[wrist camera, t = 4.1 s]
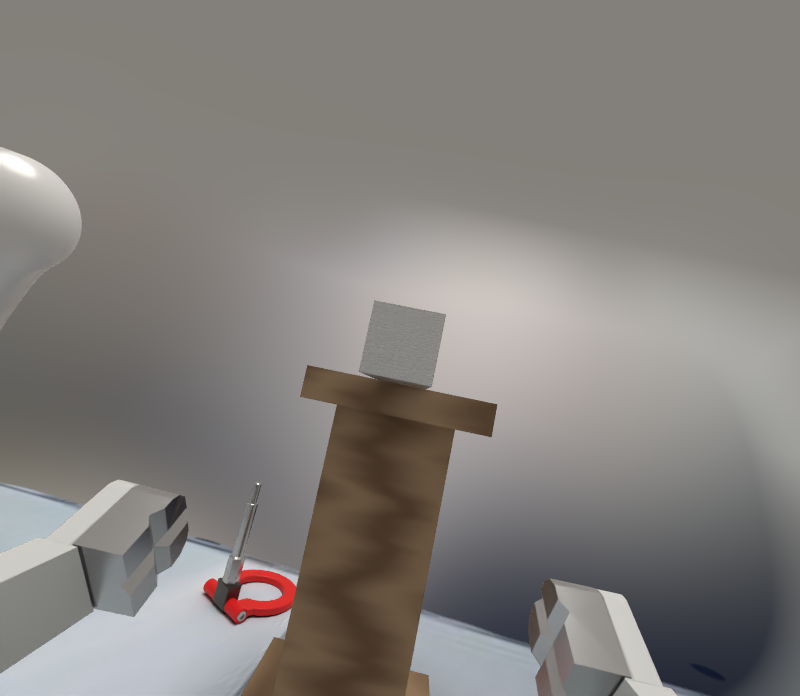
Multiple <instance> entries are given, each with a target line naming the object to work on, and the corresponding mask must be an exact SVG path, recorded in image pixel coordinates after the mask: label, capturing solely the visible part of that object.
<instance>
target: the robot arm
mask: <svg viewBox="0 0 800 696" xmlns="http://www.w3.org/2000/svg"><path fill="white" fill-rule="evenodd" d="M81 223H82V222H81V214H80V210H79V207H78V204H77V202H76V200H75V198H74V196H73V194H72V193H71V191H70V190H69V188H68V187H67V186H66V184H65V183H64V182H63V181H62V180H61V179H60V178H59V177H58V176H57V175H56V174H55V173H53V172H52V171H51V170H50V169H48V168H47V167H45V166H44V165H42V164H41V163H39V162H37V161H35V160H33V159H31V158H29V157H26V156H24V155H21V154H19V153H16V152H13V151H11V150H8V149H5V148H1V147H0V330H1V328H2V327H3V325H4V324H5V322H6V321H7V319H8V318H9V316H10V315H11V313H12V312H13V310H14V309H15V308H16V306H17V305H18V304H19V302H20V301H21V299H22V298H23V297H24V295H25V294H26V292H27V291H28V290H29V289H30V287H31V286H32V285H33V283H34V282H35V281H36V280H37V279H38V278H39V277H40V276H41V274H43V273H44V272H45V271H47V270H48V269H50V268H51V267H53V266H54V265H56V264H58V263H60V262H61V261H62V260H64V259H65V258H67V256H69V255H70V254H71V252H72V251H73V250H74V248H75V247H76V245H77V243H78V241H79V238H80V234H81V226H82V224H81ZM186 508H187V506H186V499H185V496H181V495H178V494H174V493H170V492H166V491H162V490H158V489H155V488H150V487H147V486H143V485H139V484H134V483H130V482H126V481H122V480H117V481H114V482H112V483H110V484H108V485H107V486H106V487H105V488H104V489H103V490H101V491H100V492H99V493H98V494H97V495H96V496H94V497H93V498H92V499H91V500H90V501H89V502H87V503H86V504H85V505H84V506H83V507H82V508H81V509H79V510H78V511H77V512H76V513H75V514H74V515H72V516H71V517H70V518H69V519H68V520H67V521H65V522H64V523H63V524H62V525H61V526H60V527H59V528H57V529H56V530H55V531H54V532H53V533H52V534H50V535H49V536H48V537H47V538H46V539H44V538H39V537H38V538H36V539H33V540H31V541H29V542H26V543H24V544H21V545H19V546H17V547H14V548H12V549H9V550H7V551H5V552H2V553H0V673H2V672H3V671H5V670H6V669H8V668H9V667H11V666H12V665H14V664H15V663H17V662H18V661H20V660H21V659H23V658H24V657H26V656H27V655H29V654H30V653H32V652H33V651H35V650H36V649H38V648H39V647H41V646H42V645H44V644H45V643H47V642H48V641H50V640H51V639H53V638H54V637H56V636H57V635H59V634H60V633H62V632H63V631H65V630H66V629H68V628H69V627H71V626H72V625H74V624H75V623H77V622H78V621H80V620H81V619H83V618H84V617H85V616H87V615H88V614H90V613H91V612H93V608H94V609H99V610H103V611H108V612H113V613H117V614H122V615H127V616H132V617H134V616H135V615H136V614H137V612H138V611H139V610H140V608H141V607H142V606H143V604H144V603H145V601H146V600H147V599H148V597H149V596H150V595H151V593H152V592H153V591H154V589H155V588H156V587H157V574H159V573H161V572H163V571H164V570H166V569H168V568H170V567H171V566H172V565H173V564H174V562H175V561H176V559H177V558H178V557H179V555H180V553H181V551H182V549H183V547H184V545H185V542H186V540H187V535H188V522H187V520H186V519H185V518H184V516H183V515H182V513H183V512H184V510H185V509H186ZM541 591H542V596H543V599H541V600H539V601H537V602H535V603H534V606H533V608H532V611H531V613H530V621H529V640H530V647H531V653H532V654H533V656H534V657H535V659H536V660H537V661H538V663H539V664H540V666H541V667H540V669H539V671H538V673H537V675H536V677H535V678H536V684H537V690H538V695H539V696H677V695H676V694H675V692H674V691H673V690H672V689H670V688H667V687H663V685H662V683H661V681H660V678H659V676H658V674H657V671H656V669H655V667H654V664H653V662H652V659H651V657H650V655H649V652H648V650H647V647H646V645H645V643H644V640H643V638H642V636H641V633H640V631H639V629H638V626H637V624H636V621H635V619H634V617H633V614H632V612H631V610H630V607H629V605H628V603H627V601H626V599H625V598H624V597H623V596H622V595H619V594H616V593H611V592H606V591H603V590H598V589H594V588H592V587H587V586H582V585H577V584H572V583H568V582H563V581H559V580H554V579H548V580H546V581H545V582H544V584H543V586H542V588H541Z"/></svg>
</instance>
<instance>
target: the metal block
mask: <svg viewBox="0 0 800 696" xmlns="http://www.w3.org/2000/svg"><path fill="white" fill-rule="evenodd" d="M445 317H446V315H445V314H441V313H435V312H430V311H426V310H420V309H415V308H410V307H405V306H400V305H395V304H390V303H385V302H379V301H374V305H373V309H372V314H371V318H370V323H369V328H368V332H367V337H366V342H365V346H364V350H363V355H362V360H361V364H360V369H359V372H361V373H363V374H365V375H368V376H370V377H372V378H375V379H377V380H381V381H386V382H391V383H396V384H401V385H405V386H410V387H415V388H420V389H427V388H429V387H432V382H433V377H434V373H435V368H436V363H437V357H438V352H439V347H440V342H441V336H442V332H443V326H444V322H445Z"/></svg>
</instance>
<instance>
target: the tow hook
mask: <svg viewBox="0 0 800 696" xmlns="http://www.w3.org/2000/svg"><path fill="white" fill-rule="evenodd" d="M261 485H262V484H261V483H259V482H255V484H254V487H253V491H252V494H251V498H250V501H248V502H247V505H246V508H245V512H244V515H243V519H242V522H241V525H240V529H239V532H238V536H237V540H236V543H235V547H234V550H233V553H232V554H231V555H230V556H229V559H228V562H227V566H226V569H225V573H224V576H223V578H219V579H218V581H216V580H215V579H210V580H208V581H207V582H206V583H205V585H204V591H205V592H206V593H207V594H208V595H209V596H210V597H211V598H212V599H213V602H214V603H215V604H216V605H217V606H218V607H219V608H220V609H221V610H222V611H223V612H224V613H227V614H228V615H229V617H230V618H231V619H232V620H233V621H234V622H235V623H237V624H239V623H242V622H243V621H244V620H245V619H246V617H247V616H250V615H256V616H269V615H275V614H279V613H282V612H284V611H287V610H288V609H290V608H291V607H292V605H293V600H294V596H295V591H296V586H295V585H294V584H293V583H292V582H291V581H290V580H289V579H287V578H286V577H284V576H282V575H280V574H277V573H274V572H270V571H264V570H243V571H242V568H243V564H244V561H245V556H244V552H245V549H246V545H247V542H248V538H249V535H250V531H251V528H252V524H253V521H254V517H255V514H256V510H257V507H258V502H257V499H258V496H259V492H260V488H261ZM246 582H264V583H268V584H271V585H274V586H276V587H277V588H279V589H280V590H281V591H282V593H283V595H282V596H281V597H280V598H278V599H275V600H271V601H257V600H252V599H248V598H246V599H242V600H239V601H238V597H239V593H240V589H241V586H242V583H246Z"/></svg>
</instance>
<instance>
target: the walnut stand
mask: <svg viewBox="0 0 800 696" xmlns="http://www.w3.org/2000/svg"><path fill="white" fill-rule="evenodd" d="M300 397H305V398H309V399H314V400H318V401H323V402H327V403H332V404H337V407H336V411H335V416H334V421H333V425H332V429H331V434H330V439H329V443H328V447H327V452H326V457H325V461H324V466H323V470H322V474H321V479H320V483H319V488H318V492H317V497H316V502H315V506H314V510H313V515H312V519H311V524H310V528H309V533H308V538H307V542H306V546H305V551H304V555H303V560H302V565H301V569H300V573H299V578H298V582H297V587H296V591H295V596H294V600H293V605H292V609H291V614H290V618H289V623H288V627H287V632H286V636H285V640H284V639H280V638H275V637H274V638H273V640H272V642H271V643H270V645H269V647H268V649H267V650H266V652H265V654H264V656H263V657H262V659H261V661H260V663H259V665H258V666H257V668H256V670H255V672H254V673H253V675H252V677H251V679H250V680H249V682H248V684H247V686H246V687H245V689H244V691H243V693H242V694H241V696H430V695H429V678H428V675H425V674H421V673H417V672H413V671H410V667H411V661H412V656H413V651H414V645H415V640H416V635H417V629H418V624H419V619H420V613H421V608H422V603H423V597H424V592H425V587H426V581H427V576H428V570H429V565H430V560H431V554H432V549H433V544H434V538H435V533H436V527H437V522H438V516H439V511H440V506H441V501H442V496H443V490H444V485H445V479H446V474H447V469H448V464H449V458H450V453H451V448H452V442H453V437H454V431H455V429H456V430H460V431H465V432H470V433H474V434H479V435H484V436H489V437H492V431H493V426H494V419H495V414H496V409H497V404H493V403H487V402H483V401H478V400H473V399H468V398H464V397H459V396H453V395H449V394H444V393H439V392H434V391H430V390H425V389H420V388H415V387H410V386H405V385H401V384H396V383H391V382H386V381H381V380H376V379H371V378H367V377H362V376H357V375H352V374H347V373H342V372H337V371H332V370H328V369H323V368H318V367H313V366H309V365H308V366H307V369H306V374H305V378H304V382H303V387H302V391H301V395H300Z"/></svg>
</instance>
